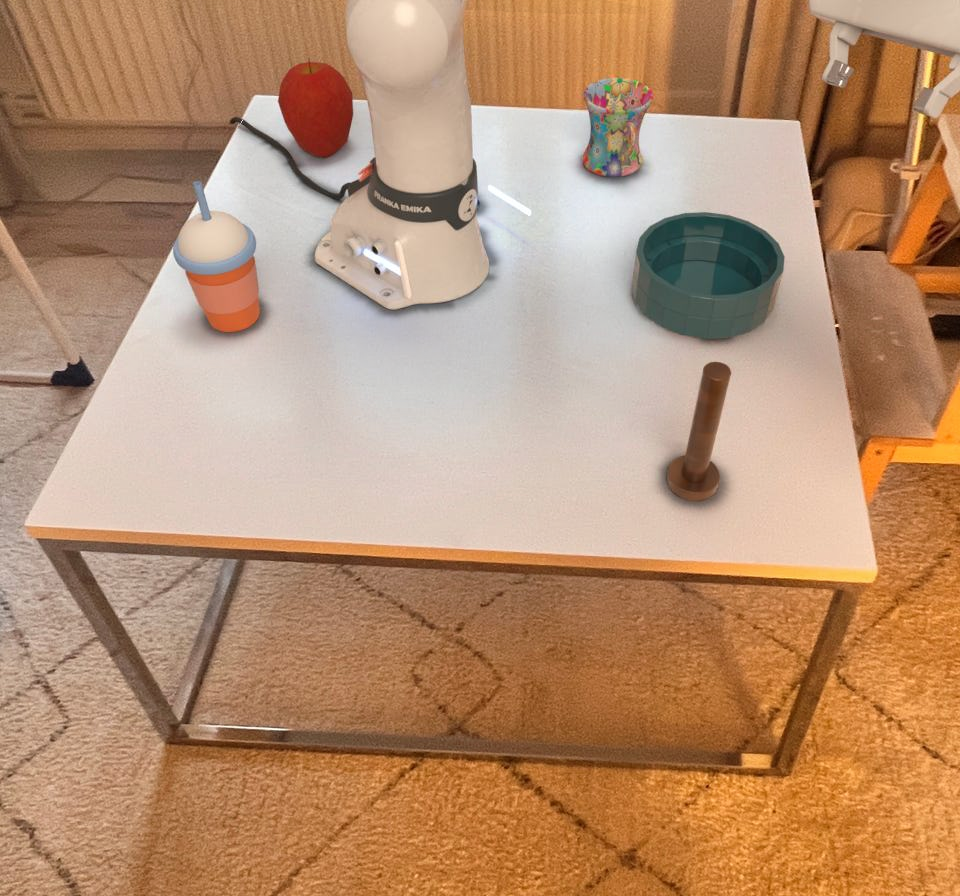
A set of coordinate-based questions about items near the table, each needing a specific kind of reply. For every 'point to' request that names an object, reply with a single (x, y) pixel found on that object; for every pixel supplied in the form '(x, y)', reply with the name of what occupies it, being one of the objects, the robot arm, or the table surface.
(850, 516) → the table surface
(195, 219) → the cup with straw
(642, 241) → the bowl
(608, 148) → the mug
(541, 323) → the table surface
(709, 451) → the wooden peg stand
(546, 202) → the table surface
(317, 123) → the apple
